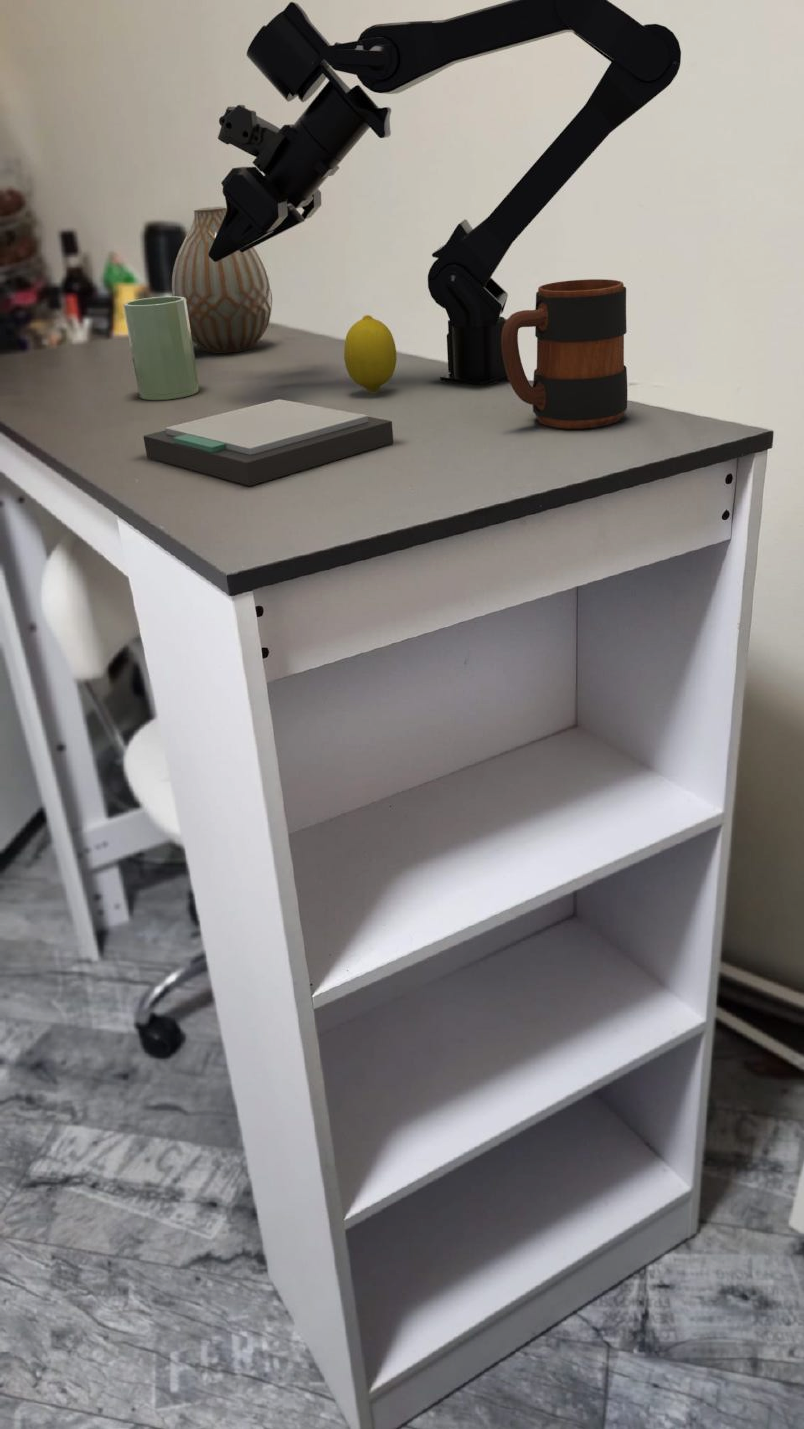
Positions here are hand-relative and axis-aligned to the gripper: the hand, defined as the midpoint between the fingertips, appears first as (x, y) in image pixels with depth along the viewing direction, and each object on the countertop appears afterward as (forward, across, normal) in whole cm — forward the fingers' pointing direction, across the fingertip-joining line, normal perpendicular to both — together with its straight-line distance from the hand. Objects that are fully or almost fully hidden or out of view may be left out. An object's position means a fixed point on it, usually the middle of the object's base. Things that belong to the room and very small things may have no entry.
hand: (225, 253), depth 119 cm
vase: (+17, -26, +4) cm, 31 cm away
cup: (+16, +2, +5) cm, 17 cm away
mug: (-18, +20, +35) cm, 45 cm away
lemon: (-3, +5, +22) cm, 22 cm away
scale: (+1, +28, +18) cm, 33 cm away
